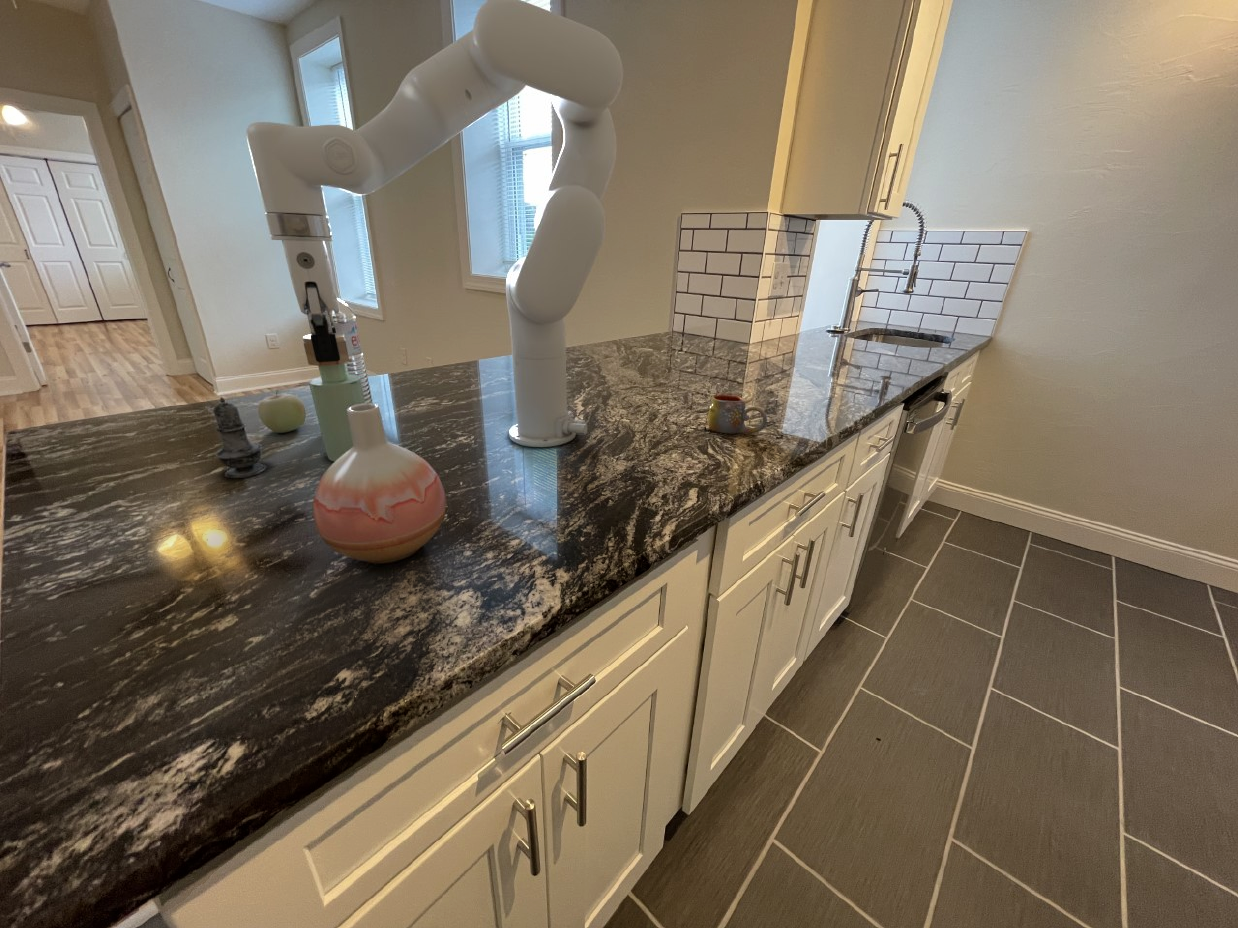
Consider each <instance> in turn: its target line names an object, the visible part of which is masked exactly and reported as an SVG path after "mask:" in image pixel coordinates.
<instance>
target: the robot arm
mask: <svg viewBox="0 0 1238 928" xmlns="http://www.w3.org/2000/svg"><path fill="white" fill-rule="evenodd" d="M623 79H624V67H623V63H622V58H621V56H620V52H619V51H618V49H617V48H616V46H615V44H614V43H613V42H612V41H611V40H610V39H609V38H608V37H607V36H606V35H605V34H603V33H602V32H600V31H599V30H597V29H594V28H592V27H590V26H588V25H586V24H582V23H580V22H577V21H576V20H572V19H569V18H567V17H566V16H563V15H560V14H557V13H555V12H553V11H550V10H547V9H545V8H543V7H540V6H537V5H535V4H532V3H530V2H527V1H524V0H486V1H485V2H484V3H483V4H482V5H481V6H480V7H479V9H478V11H477V13H476V16H475V17H474V23H473V28H472V29H471V30H469V31H468V32H467V33H466V34H464V35H462V36H461V37H459V38H458V39H456V40H455V41H454V42H452V43H450V44H449V45H447V46H446V47H444V48H443V49H441V50H439V51H438V52H437V53H435V54H434V55H432V56H430V57H429V58H428V59H426V60H424V61H422V62H421V63H419V64H418V65H416V66H414V67H413V68H412V69H411V70H410V71H409V72H408V73H407V74H406V76H404V79H402V81H401V82H400V85H399V87H398V89H397V90H396V92H395V95H394V96H393V98H392V99H391V101H390V102H389V103H388V104H387V105H386V106H385V108H383V109H382V110H381V111H380V112H378V114H377V115H375V116H373V118H372V119H370V120H369V121H367V122H366V123H364V124H363V125H361V126H360V127H358V128H357V129H355V130H353V129H352V128H349V127H347V126H344V125H339V124H320V125H307V126H306V125H303V126H295V125H291V124H286V123H280V122H271V121H259V122H258V121H256V122H252V123H250V124H249V125H248V126H247V128H246V131H245V136H246V141H247V146H248V149H249V153H250V154H249V155H250V158H251V161H252V162H251V163H252V165H253V170H254V173H255V178H256V182H257V186H258V190H259V194H260V199H261V201H262V207H263V210H264V215H265V218H266V219H265V220H266V222H267V226H268V231H269V234H270V235H269V236H270V239H271V240H272V241H281V242H282V246H283V252H284V255H285V259H286V264H287V268H288V272H289V277H290V281H291V282H292V287H293V291H294V294H295V297H296V301H297V304H298V307H299V310H300V312H301V313H302V314H304V315H306V316H307V320H308V321H307V322H308V325H309V331H310V334H311V335H310V334H309V335H310V337H311V341H312V345H313V350H314V354H315V358H316V361H317V362H331V361H339V360H340V355H339V350H338V346H337V341H336V336H335V334H333V333H336V329H335V327H333V322H332V318H331V314H330V310H334V313H335V314H337V313H338V312H339V303H338V299H339V298H338V294H337V289H336V285H335V284H336V283H335V279H334V274H333V270H332V264H331V261H330V256H329V252H328V249H327V246H326V242H334V240H333V234H332V231H331V230H332V229H331V225H330V220H329V215H328V209H327V205H326V200H325V195H324V191H323V190H324V189H323V187H330V188H335V189H338V190H340V191H345V192H347V193H349V194H352V195H356V196H366V195H370V194H373V193H374V192H376V191H378V190H380V189H381V188H383V187H385V186H386V185H387V184H389V183H391V182H392V181H394V180H395V179H397V178H398V177H400V176H401V175H403V174H404V173H405V172H407V171H409V170H410V169H411V168H413V167H415V165H417V164H418V163H420V162H421V161H423V160H424V159H425V158H426V157H427V156H429V155H431V154H432V153H433V152H435V151H437V150H438V149H440V148H441V147H443V146H444V145H445V144H446V143H447V142H449V141H450V140H451V139H453V138H454V137H455V136H457V135H458V134H460V133H462V132H463V131H464V130H466V129H467V128H469V127H471V125H473V124H475V123H476V122H478V121H479V120H481V119H483V118H484V117H485V116H487V115H488V114H490V113H491V112H493V111H495V110H496V109H498V108H500V106H502V105H503V104H505V103H507V102H508V101H510V100H511V99H513V98H514V97H516V96H517V95H518V94H520V92H522V91H523V90H524V89H525V87H526V86H527V87H529V88H532V89H535V90H537V91H540V92H543V93H546V94H549V95H550V100H551V103H552V105H553V107H554V110H555V113H556V114H557V117H558V118H559V120H560V123H561V126H562V131H563V142H562V147H561V150H560V153H559V156H558V159H557V161H556V164H555V168H554V170H553V173H552V175H551V178H550V179H549V182H548V185H547V187H546V189H545V192H544V194H543V196H542V198H541V200H540V201H539V204H538V206H537V208H536V211H535V215H534V221H533V222H534V224H533V225H534V231H535V232H534V235H533V237H532V240H531V242H530V244H529V247H528V250H527V252H526V255H525V257H522V258H520V259H518V260H517V261H516V262H514V263H513V265H512V266H511V268H510V269H509V271H508V273H507V276H506V281H505V298H506V307H507V311H508V312H507V313H508V320H509V321H508V322H509V333H510V344H511V361H512V373H513V387H514V388H513V389H514V401H515V403H514V404H515V416H516V424H514V425H512V427H511V428H509V431H508V435H509V439H510V440H511V441H512V442H513V443H515V444H517V445H521V446H524V447H531V448H549V447H557V446H561V445H564V444H567V443H569V442H571V441H572V440H573V439H575V438H576V436H577V435H587V433H588V428H589V427H588V424H587V422H586V420H581V419H575V418H574V417H573V411H571V410H568V385H567V379H568V378H567V340H566V339H567V338H566V325H565V317H566V316H567V315H568V314H569V313H570V312H571V311H572V309H573V308H574V306H575V305H576V303H577V301H578V298H579V296H580V294H581V292H582V290H583V287H584V285H585V284H586V281H587V279H588V277H589V274H590V272H591V270H592V267H593V265H594V263H595V261H596V259H597V256H598V254H599V251H600V250H601V247H602V245H603V242H604V238H605V234H606V224H607V222H606V213H605V210H604V207H603V205H602V201H603V198H604V196H605V193H606V190H607V188H608V186H609V183H610V180H611V177H612V175H613V171H614V168H615V165H616V161H617V153H618V152H617V151H618V143H617V141H618V140H617V135H616V134H617V133H616V128H615V124H614V119H613V116H612V113H611V111H610V109H609V107H610V106H611V105H612V104H613V103H614V102H615V100H616V99H617V98H618V96H619V95H620V92H621V88H622V85H623Z"/></svg>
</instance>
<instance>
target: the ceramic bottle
mask: <svg viewBox="0 0 1238 928" xmlns="http://www.w3.org/2000/svg"><path fill="white" fill-rule="evenodd" d="M318 371H319V374H320V375H319V376H318V377H314V378H312V379H310V380H309V381H308V386H309V389H310V393H311V397H312V401H313V405H314V409H315V413H316V417H317V421H318V425H319V429H320V433H321V437H322V440H323V445H324V448H325V452H326V456H327V459H328V460H329V461H331V462H333V463H334V462H335V461H336V460H337V459H338V458H339V457H341V456H342V455H343V454H344V453H346V452H347V451H348V450H350V449H351V448H352V447H353V441H352V435H351V430H350V425H349V420H348V415H347V409H348V408H349V407H351V406H353V405H357V404H364V403H365V399H364V394H363V389H362V384H361V379H360V376H358V375H353V374H347V371H346V367H345V363H343V364H339V365H338V364H337V365H328V366H322V365H321V366H318Z"/></svg>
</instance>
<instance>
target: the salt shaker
mask: <svg viewBox="0 0 1238 928" xmlns="http://www.w3.org/2000/svg"><path fill="white" fill-rule="evenodd" d="M212 411H213V414H214V417H215V420H216V423H217V427H216V428H215V429H216V431H217V432H219V433H220V437H221V439H222V445H223V446H222V448H220V449H218V450H217V451H216V452H215V454H214V456H215V457H216V458H218V459H219V461H220V462H221V463H222V464H223V465H224V466H225V467H228V468H229V469H228V470H226V472H225V473H224V477H226V478H227V479H245V478H250V477H253V476H256V475H258V474H259V475H260V474H261V473H263V472H264V471H266V469H267V466H266V464H264V463H260V462H259V460H260V459H261V458H262V449H263V445H262V444H260V443H256V442H251V440H250V438H249V437H248V434H247V432H246V429H245V427H247V424H246V423H244V422H243V420H242V418H241V415H240V411H239V409H238V406H237V405H236V404H234V403H232V402H226V399H225V398H223V397H220V399H219V403H218V404H217V405H215V406H214V407H213V410H212Z"/></svg>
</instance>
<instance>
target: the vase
mask: <svg viewBox="0 0 1238 928" xmlns="http://www.w3.org/2000/svg"><path fill="white" fill-rule="evenodd" d="M347 415H348V420H349V425H350V430H351V435H352V441H353V447H352V448H351V449H350V450H348V451H347V452H346V453H344V454H343V455H342V456H341V457H339V458H338V459H337V460H336V461H335V462H334V461H333V463H332V464H331V465H330V466H329V467H328V468H327V470H325V472H324V473H323V475H322V476H321V478H320V479H319V482H318V484H317V486H316V489H315V491H314V496H313V503H312V504H313V505H312V512H313V513H312V515H313V516H312V517H313V521H314V525H315V527H316V530H317V533H318V534H319V537H320V538H321V539H322V540H323V542H324V544H326V545H327V546H328V547H329V548H331V549H332V550H334V551H335V552H336V553H338V554H340V555H342V556H343V557H346V558H349V559H352V560H356V561H360V562H361V561H362V562H364V563H368V564H375V565H378V564H379V565H381V564H382V565H383V564H389V563H395V562H399V561H402V560H404V559H407V558H409V557H410V556H412V555H414V554H416V553H417V552H418V551H419V550H420V549H421V548H422V547H423V546H425V545H426V544H427V543H428V542H430V540H432V539H433V537H434V536H435V535H436V534H437V532H438V531H439V529H440V528H441V526H442V524H443V522H444V519H445V516H446V512H447V495H446V491H445V488H444V485H443V483H442V480H441V477H440V476H439V474H438V473H437V471H436V470H435V469H434V467H432V465H430V463H429V462H428V461H427V460H425V459H424V458H423V457H421V456H420V455H418V454H417V453H415V452H414V451H411V450H409V449H408V448H406V447H403V446H401V445H397V444H394V443H392V442H390V441H388V440H387V436H386V432H385V427H384V423H383V418H382V414H381V408H380V406H379V405H378V404H376V403H373V404H372V403H364V404H357V405H353V406H351V407H349V408H348V409H347Z"/></svg>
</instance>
